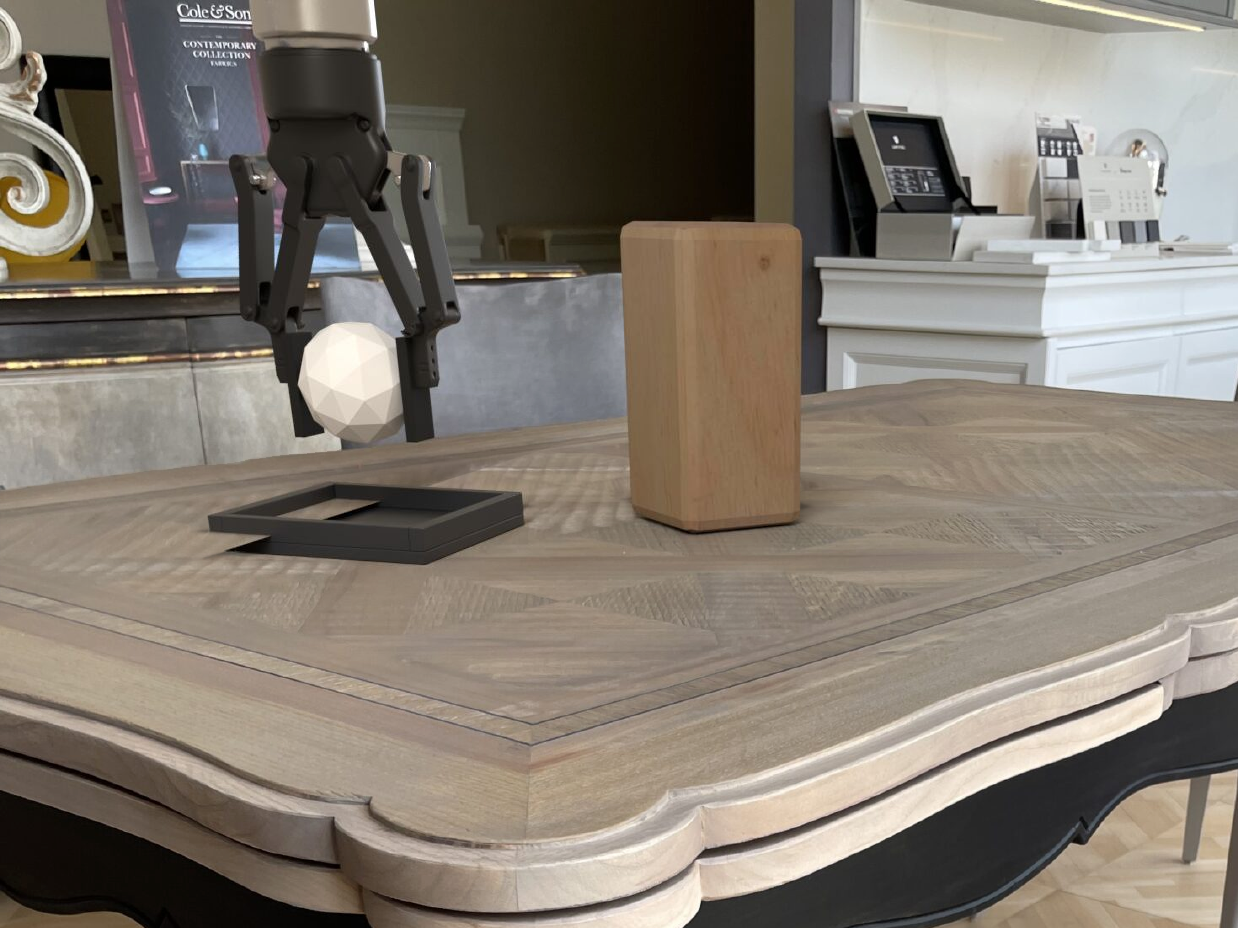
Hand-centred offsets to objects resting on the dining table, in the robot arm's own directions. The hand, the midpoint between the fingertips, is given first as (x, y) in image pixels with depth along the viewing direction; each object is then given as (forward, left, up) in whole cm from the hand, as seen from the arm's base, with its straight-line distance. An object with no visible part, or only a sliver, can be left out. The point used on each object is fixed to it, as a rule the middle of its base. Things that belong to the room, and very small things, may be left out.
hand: (364, 437), depth 110 cm
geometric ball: (0, 0, -1) cm, 1 cm away
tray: (0, 0, -7) cm, 7 cm away
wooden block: (+21, +14, -7) cm, 26 cm away
